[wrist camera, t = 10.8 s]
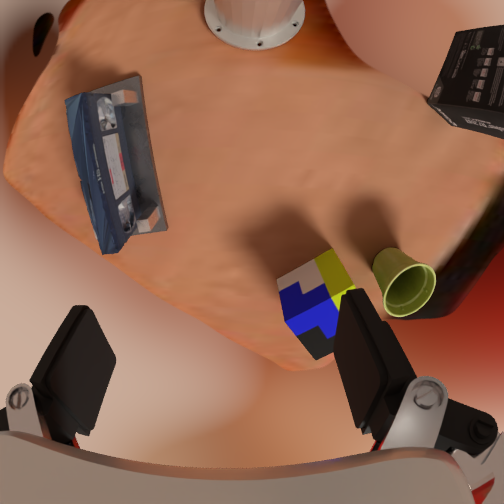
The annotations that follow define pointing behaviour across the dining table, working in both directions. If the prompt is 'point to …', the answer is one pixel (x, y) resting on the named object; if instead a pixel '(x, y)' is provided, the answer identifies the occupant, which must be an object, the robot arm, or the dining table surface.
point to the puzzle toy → (314, 301)
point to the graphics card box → (473, 82)
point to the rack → (139, 152)
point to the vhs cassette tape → (103, 168)
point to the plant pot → (402, 281)
